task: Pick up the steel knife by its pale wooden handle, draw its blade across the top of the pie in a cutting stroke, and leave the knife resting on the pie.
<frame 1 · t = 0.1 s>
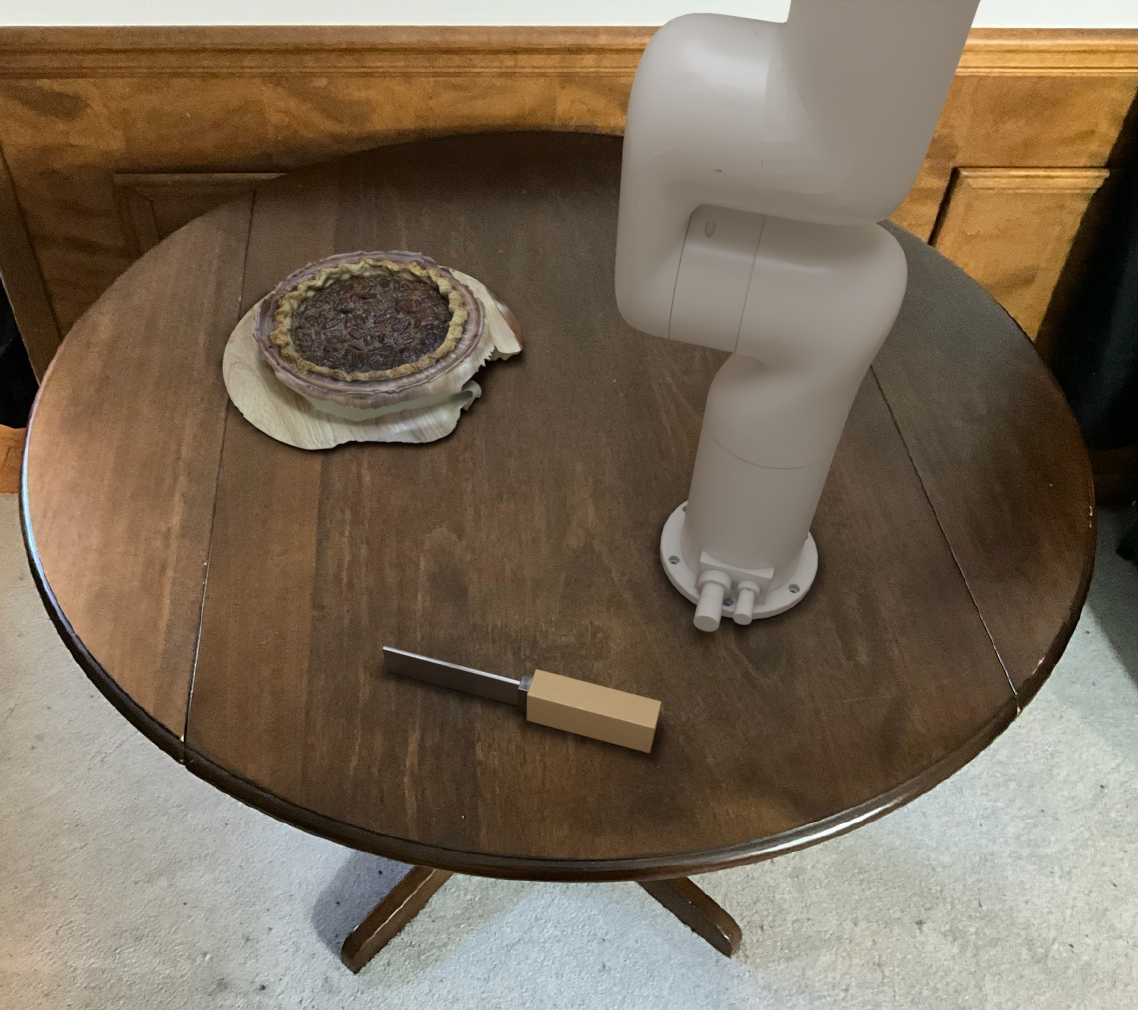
knife: (530, 707, 75), on the table
pie: (376, 351, 99), on the table
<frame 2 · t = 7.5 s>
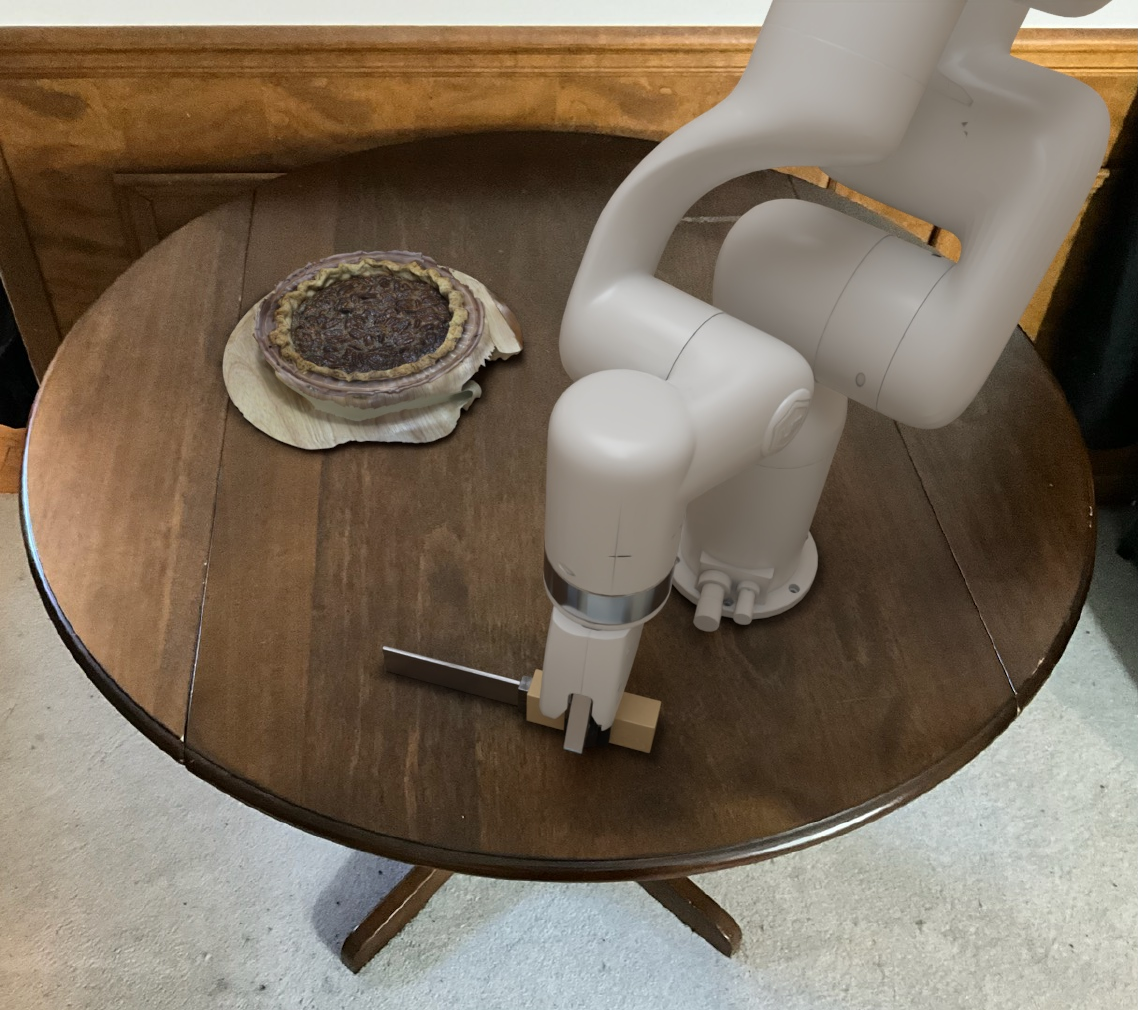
hand: (591, 720, 73), 1 cm above the table, tool pointing down, fingers closed on knife, 2 cm apart
knife: (530, 707, 75), on the table, touching gripper
everything else where it was.
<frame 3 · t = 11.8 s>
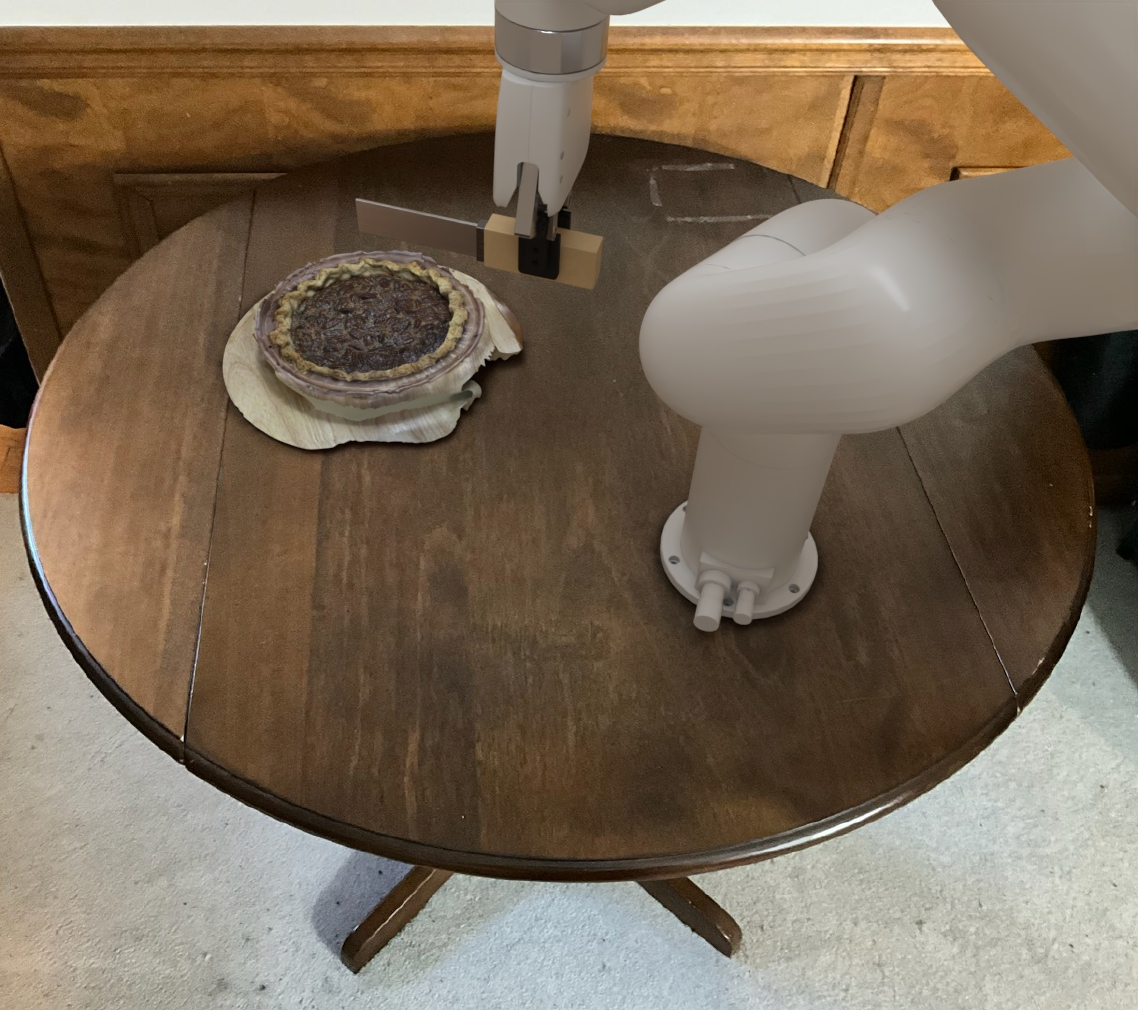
hand: (543, 261, 82), 16 cm above the table, tool pointing down, fingers closed on knife
knife: (488, 258, 83), point 15 cm above the table, touching gripper
everything else where it was.
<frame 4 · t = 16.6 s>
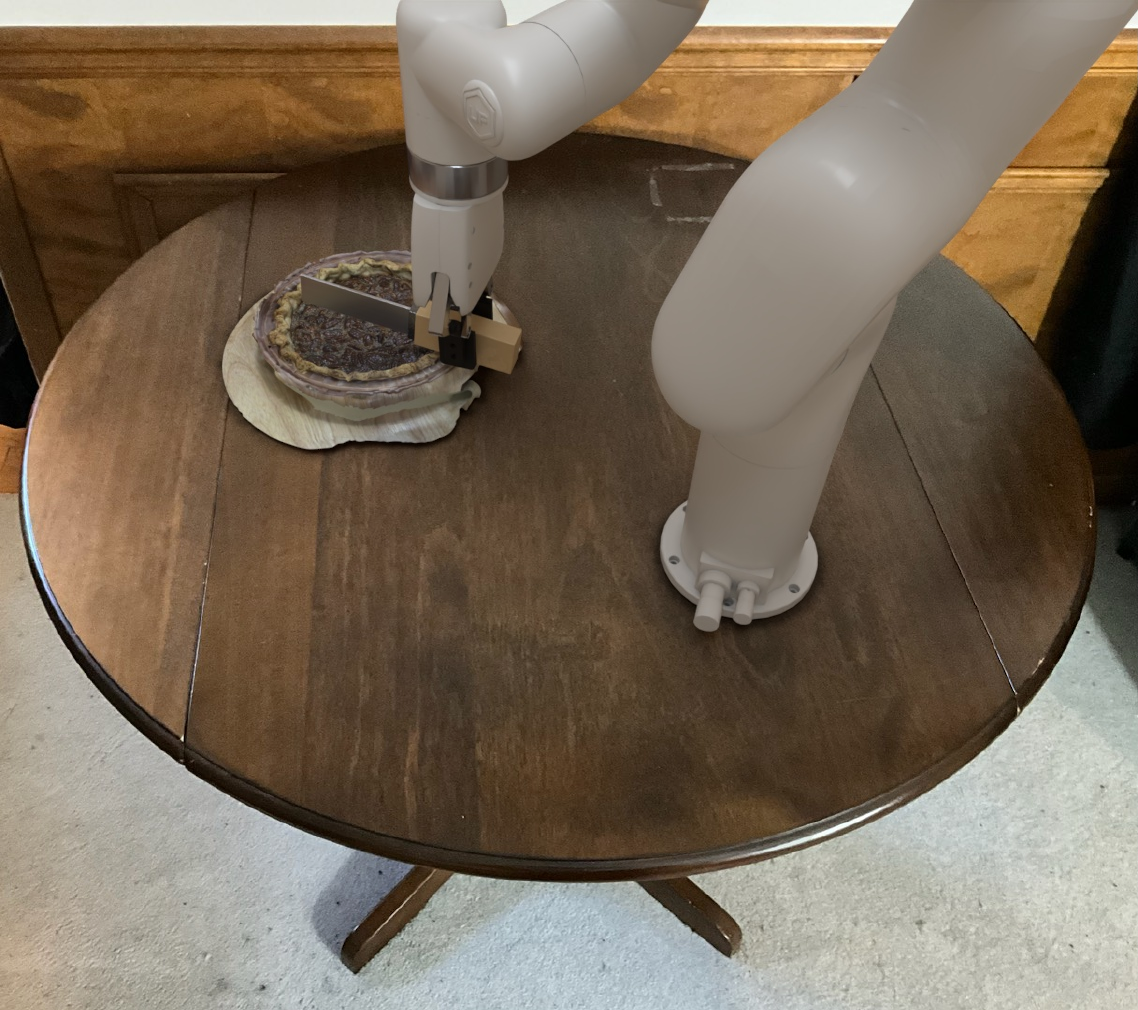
hand: (466, 346, 92), 5 cm above the table, tool pointing down, fingers open, 3 cm apart
knife: (418, 336, 93), point 5 cm above the table, tilted 7°, touching pie
pie: (375, 351, 99), on the table, touching knife
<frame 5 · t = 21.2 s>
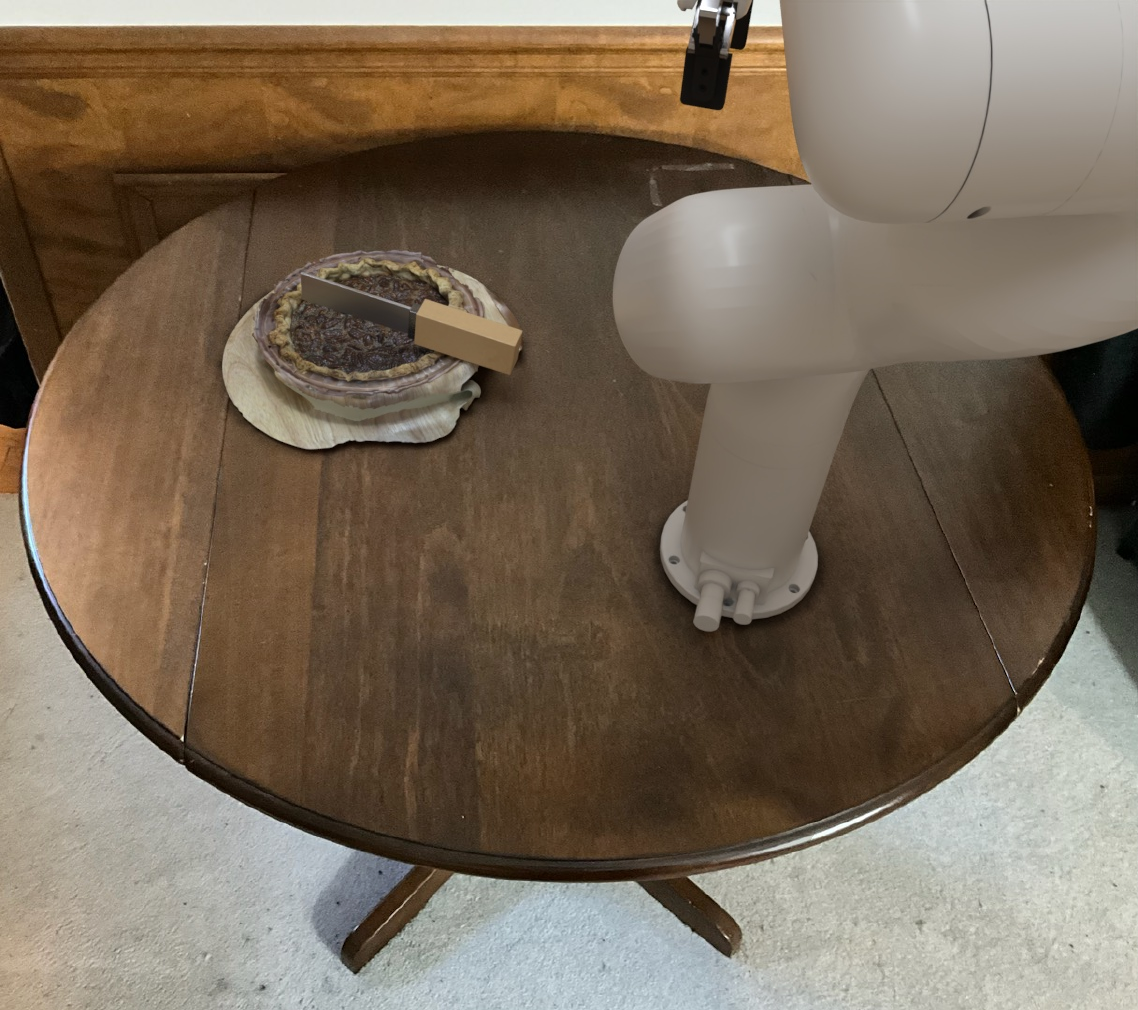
hand: (713, 74, 78), 28 cm above the table, tool pointing down, fingers open, 9 cm apart
nothing on the table moved.
at the end: knife touching pie; knife point 5.2 cm above the table; the gripper is holding nothing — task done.
